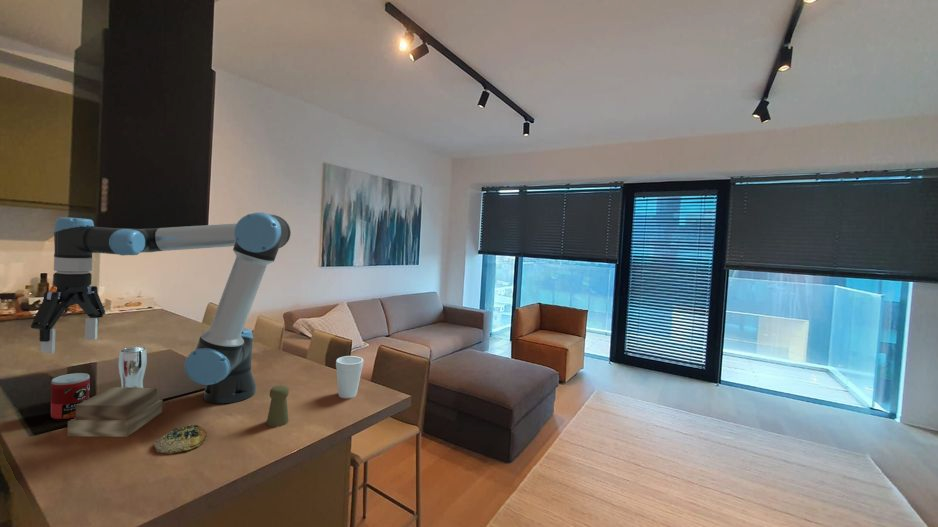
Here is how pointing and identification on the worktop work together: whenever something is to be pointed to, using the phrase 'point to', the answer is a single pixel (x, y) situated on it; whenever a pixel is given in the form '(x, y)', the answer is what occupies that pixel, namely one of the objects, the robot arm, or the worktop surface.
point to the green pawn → (278, 406)
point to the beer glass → (132, 366)
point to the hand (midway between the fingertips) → (70, 345)
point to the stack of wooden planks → (115, 412)
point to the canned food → (68, 394)
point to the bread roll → (181, 439)
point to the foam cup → (348, 375)
